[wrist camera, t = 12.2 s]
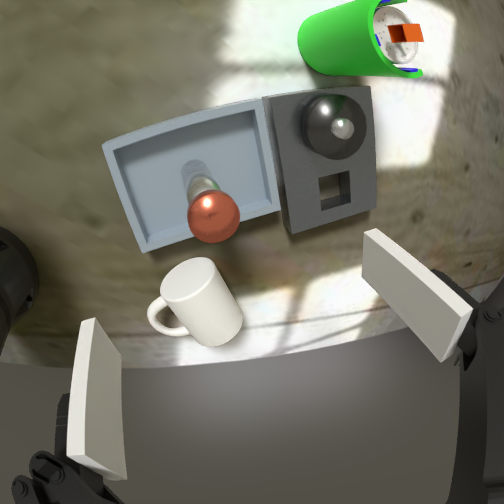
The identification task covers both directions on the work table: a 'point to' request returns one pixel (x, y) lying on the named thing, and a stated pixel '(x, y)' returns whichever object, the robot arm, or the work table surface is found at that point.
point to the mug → (198, 303)
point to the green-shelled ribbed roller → (361, 40)
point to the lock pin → (208, 205)
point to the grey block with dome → (322, 152)
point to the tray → (183, 150)
